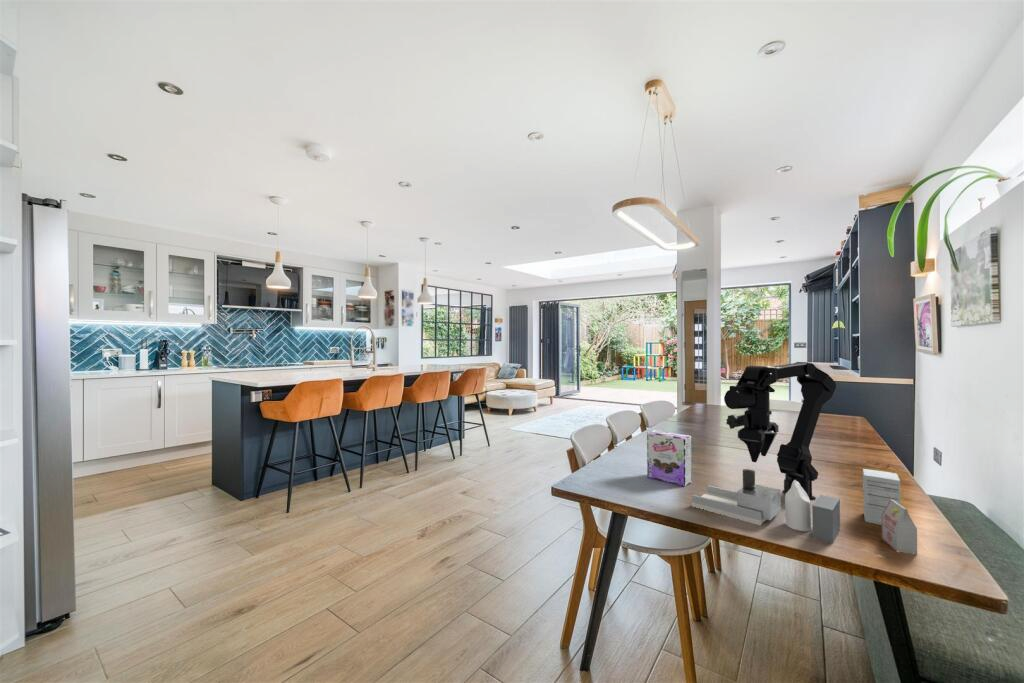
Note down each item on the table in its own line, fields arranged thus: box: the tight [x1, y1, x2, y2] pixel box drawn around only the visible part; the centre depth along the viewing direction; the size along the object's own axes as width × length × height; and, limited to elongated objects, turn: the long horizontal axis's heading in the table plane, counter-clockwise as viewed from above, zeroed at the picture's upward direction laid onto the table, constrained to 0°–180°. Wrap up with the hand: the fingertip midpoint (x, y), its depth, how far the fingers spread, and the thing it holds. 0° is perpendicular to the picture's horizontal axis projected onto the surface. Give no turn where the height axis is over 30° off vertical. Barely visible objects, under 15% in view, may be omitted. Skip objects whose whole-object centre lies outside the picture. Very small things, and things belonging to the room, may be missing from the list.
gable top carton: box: [881, 499, 918, 555], centre depth 97 cm, size 4×7×10 cm, turn 160°
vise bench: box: [691, 484, 841, 544], centre depth 114 cm, size 33×13×8 cm, turn 44°
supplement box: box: [862, 468, 902, 526], centre depth 111 cm, size 7×7×13 cm
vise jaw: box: [736, 468, 782, 521], centre depth 114 cm, size 8×10×10 cm
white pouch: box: [784, 480, 812, 532], centre depth 108 cm, size 6×12×6 cm
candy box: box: [646, 429, 692, 487], centre depth 145 cm, size 14×6×16 cm, turn 45°
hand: (758, 458), depth 124 cm, fingers open, 9 cm apart
